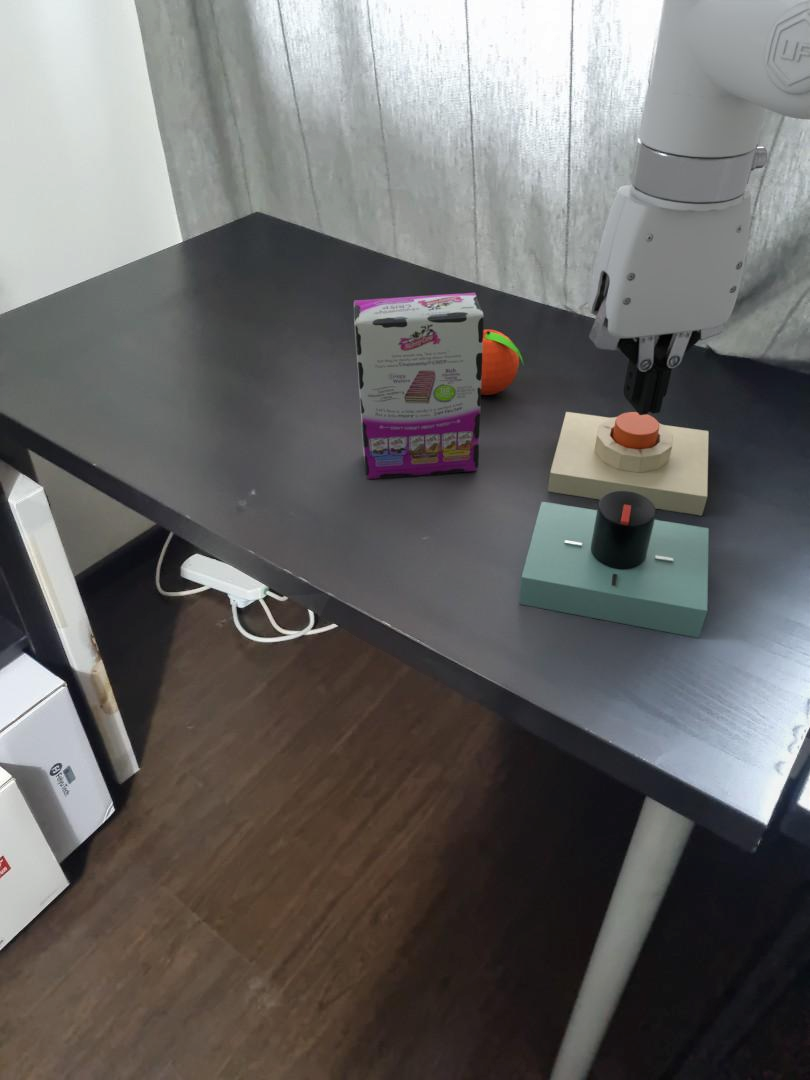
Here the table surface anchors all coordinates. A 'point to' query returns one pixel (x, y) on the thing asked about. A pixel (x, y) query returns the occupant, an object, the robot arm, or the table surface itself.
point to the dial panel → (617, 574)
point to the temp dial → (622, 529)
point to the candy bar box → (419, 383)
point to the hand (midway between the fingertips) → (641, 405)
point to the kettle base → (631, 464)
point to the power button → (635, 430)
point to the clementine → (498, 362)
